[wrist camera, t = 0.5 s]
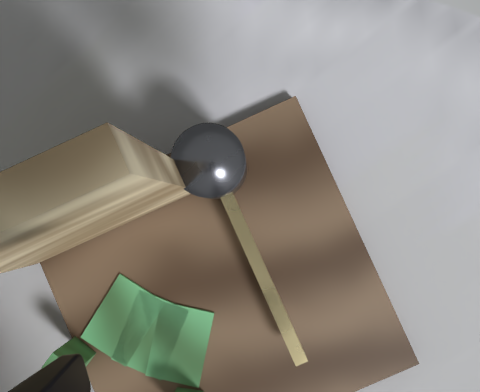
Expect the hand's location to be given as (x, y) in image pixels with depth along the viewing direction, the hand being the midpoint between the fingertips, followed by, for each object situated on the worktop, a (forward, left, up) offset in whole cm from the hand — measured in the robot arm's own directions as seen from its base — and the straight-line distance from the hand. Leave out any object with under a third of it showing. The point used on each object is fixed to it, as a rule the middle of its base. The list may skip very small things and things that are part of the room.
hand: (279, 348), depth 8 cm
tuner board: (-2, +3, -14) cm, 15 cm away
